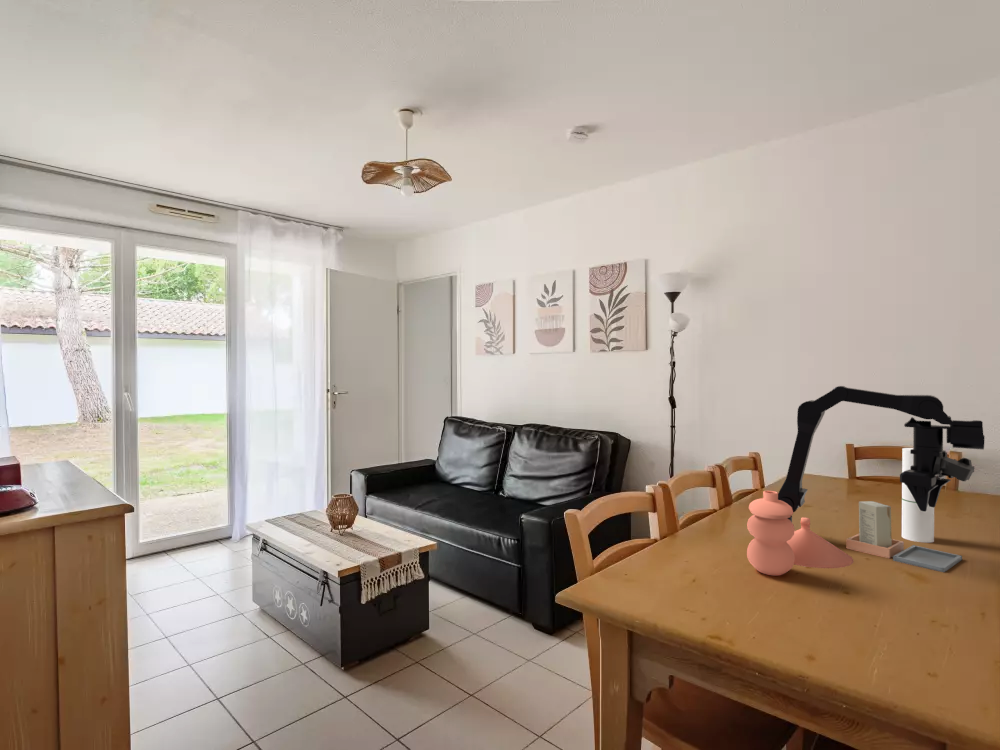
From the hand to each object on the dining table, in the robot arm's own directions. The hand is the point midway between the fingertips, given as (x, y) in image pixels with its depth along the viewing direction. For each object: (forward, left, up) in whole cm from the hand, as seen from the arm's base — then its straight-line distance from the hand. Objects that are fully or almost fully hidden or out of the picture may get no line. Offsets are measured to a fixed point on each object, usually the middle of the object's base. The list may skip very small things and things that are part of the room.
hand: (927, 509), depth 132 cm
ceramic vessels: (-26, +20, -13) cm, 35 cm away
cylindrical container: (+19, +7, -13) cm, 24 cm away
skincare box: (-1, +11, -13) cm, 17 cm away
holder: (-1, +11, -13) cm, 17 cm away
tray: (0, 0, -13) cm, 13 cm away
